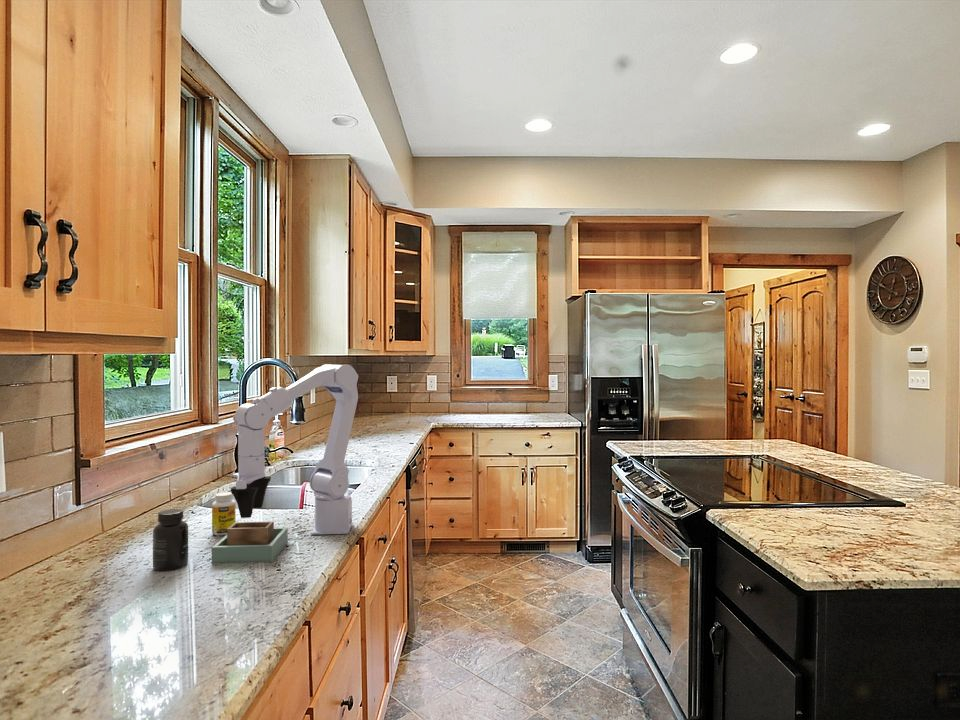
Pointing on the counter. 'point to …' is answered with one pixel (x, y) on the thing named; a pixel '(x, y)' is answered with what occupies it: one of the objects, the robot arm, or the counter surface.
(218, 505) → the supplement bottle
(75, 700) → the counter surface
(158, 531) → the supplement bottle
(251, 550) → the green crate
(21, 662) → the counter surface
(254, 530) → the walnut crate
